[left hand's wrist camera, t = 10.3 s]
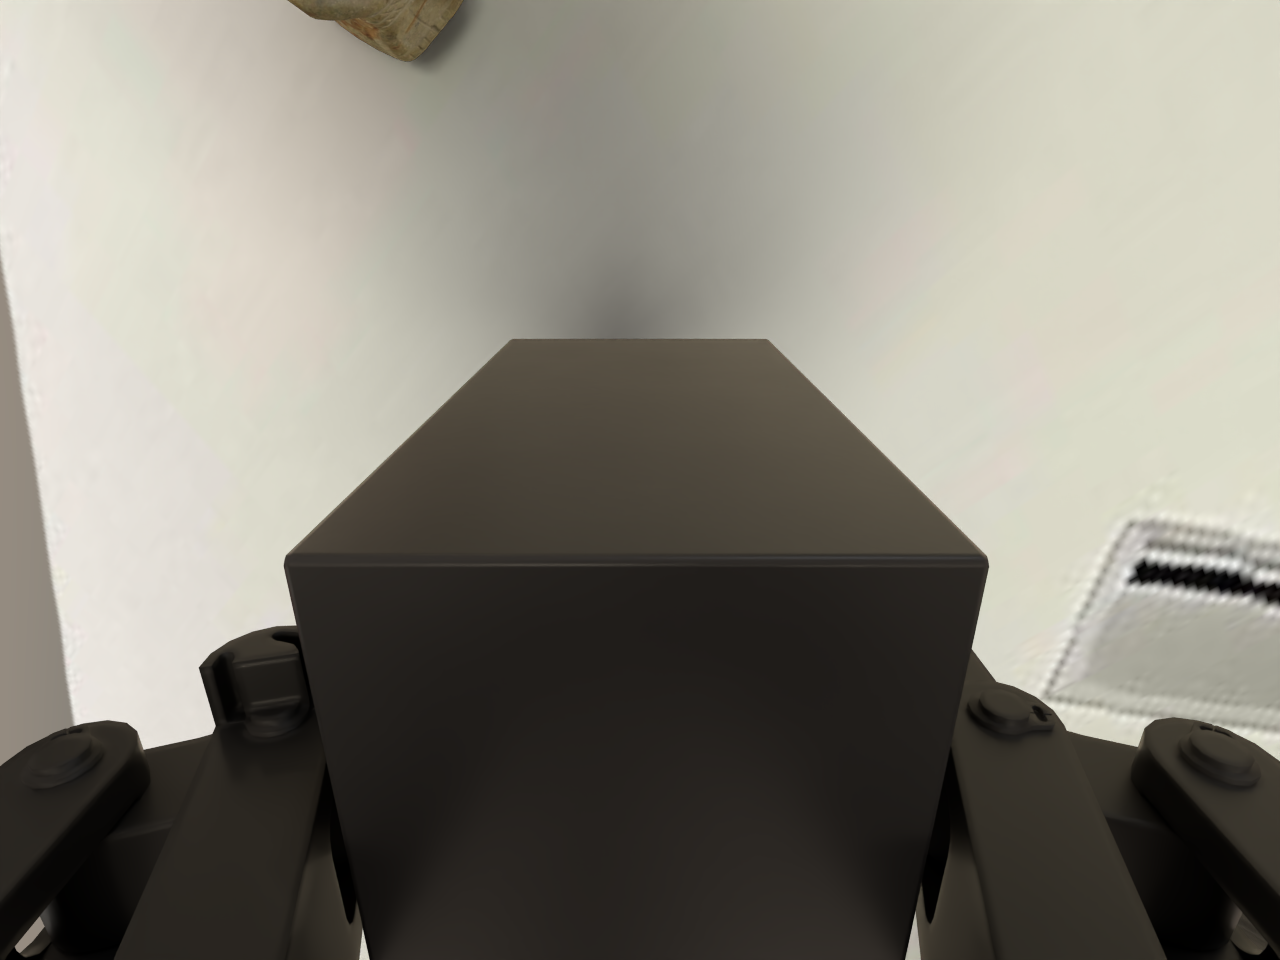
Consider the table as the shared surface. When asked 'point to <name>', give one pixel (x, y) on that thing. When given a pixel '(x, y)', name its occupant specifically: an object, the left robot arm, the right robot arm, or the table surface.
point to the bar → (637, 665)
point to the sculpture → (387, 21)
